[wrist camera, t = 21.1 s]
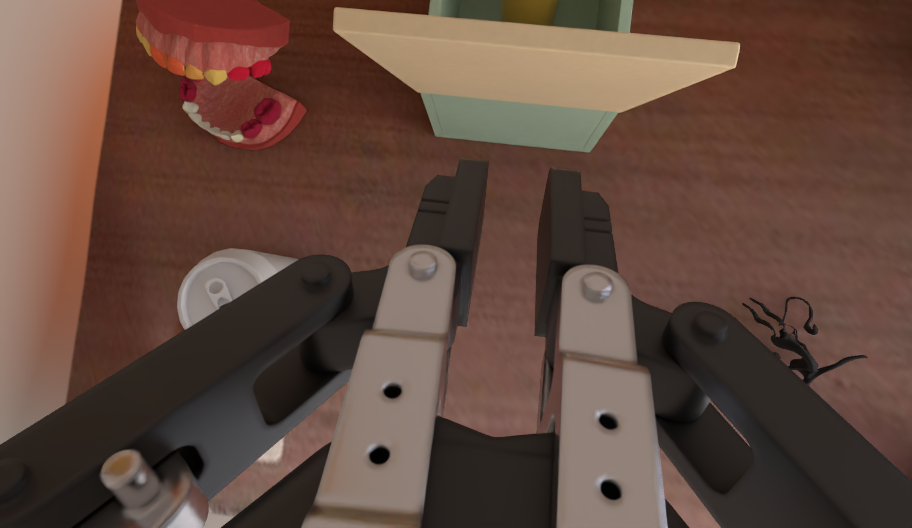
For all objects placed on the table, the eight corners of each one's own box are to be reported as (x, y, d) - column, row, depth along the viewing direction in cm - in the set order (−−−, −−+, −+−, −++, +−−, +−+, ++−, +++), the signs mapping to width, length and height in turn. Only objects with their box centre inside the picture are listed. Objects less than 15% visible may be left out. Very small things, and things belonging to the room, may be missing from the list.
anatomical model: (164, 132, 47) (76, -13, 33) (220, 75, 50) (161, -78, 36) (263, 186, 46) (215, 62, 32) (314, 125, 49) (290, -12, 36)
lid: (333, 6, 18) (331, 31, 18) (742, 42, 17) (736, 68, 17) (417, 80, 35) (416, 92, 35) (624, 99, 34) (621, 112, 34)
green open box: (458, -44, 47) (448, -145, 36) (611, -32, 46) (648, -132, 35) (435, 136, 46) (418, 88, 35) (589, 152, 45) (621, 108, 34)
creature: (701, 330, 45) (768, 410, 42) (719, 322, 40) (797, 413, 37) (776, 277, 45) (848, 355, 42) (805, 262, 39) (888, 350, 37)
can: (266, 355, 46) (187, 377, 34) (237, 277, 47) (149, 271, 35) (344, 323, 46) (292, 334, 34) (313, 245, 46) (252, 228, 34)
